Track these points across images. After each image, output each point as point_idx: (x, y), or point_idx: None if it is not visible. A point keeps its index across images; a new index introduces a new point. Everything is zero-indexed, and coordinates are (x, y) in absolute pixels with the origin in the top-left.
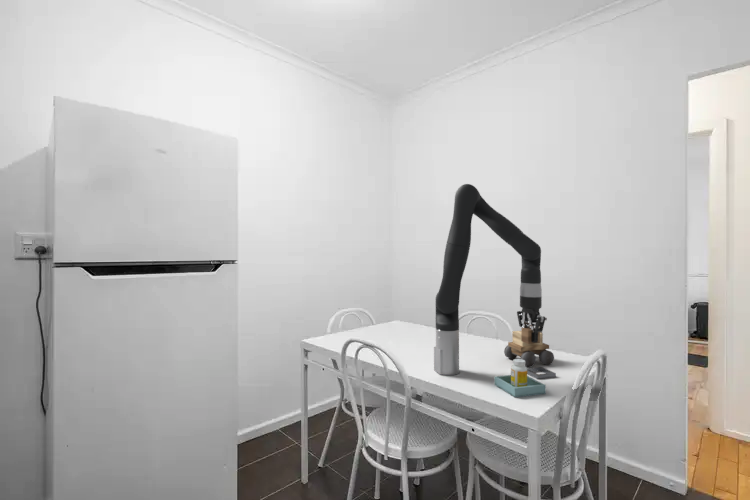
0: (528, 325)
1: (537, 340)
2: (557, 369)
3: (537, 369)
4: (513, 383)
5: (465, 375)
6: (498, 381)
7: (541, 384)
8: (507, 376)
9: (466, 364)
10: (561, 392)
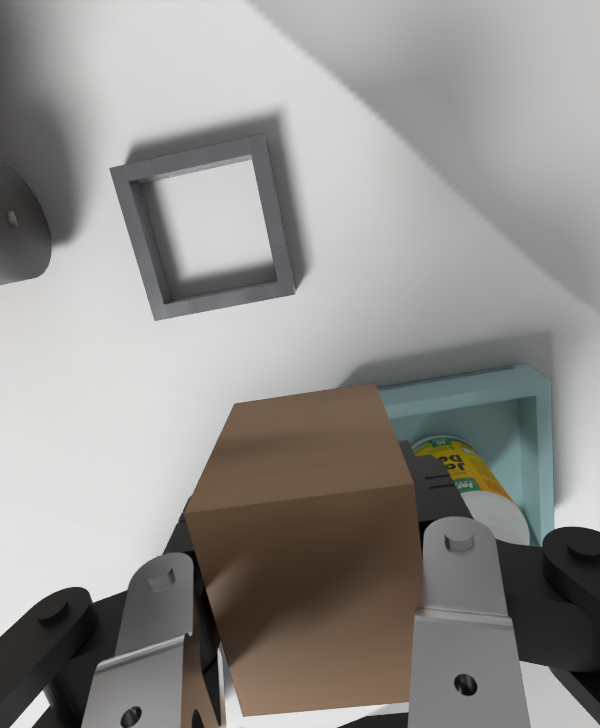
0: (184, 632)
1: (438, 463)
2: (87, 14)
3: (141, 213)
4: None
5: None
6: None
7: (536, 398)
8: None
9: (32, 570)
10: (527, 260)
